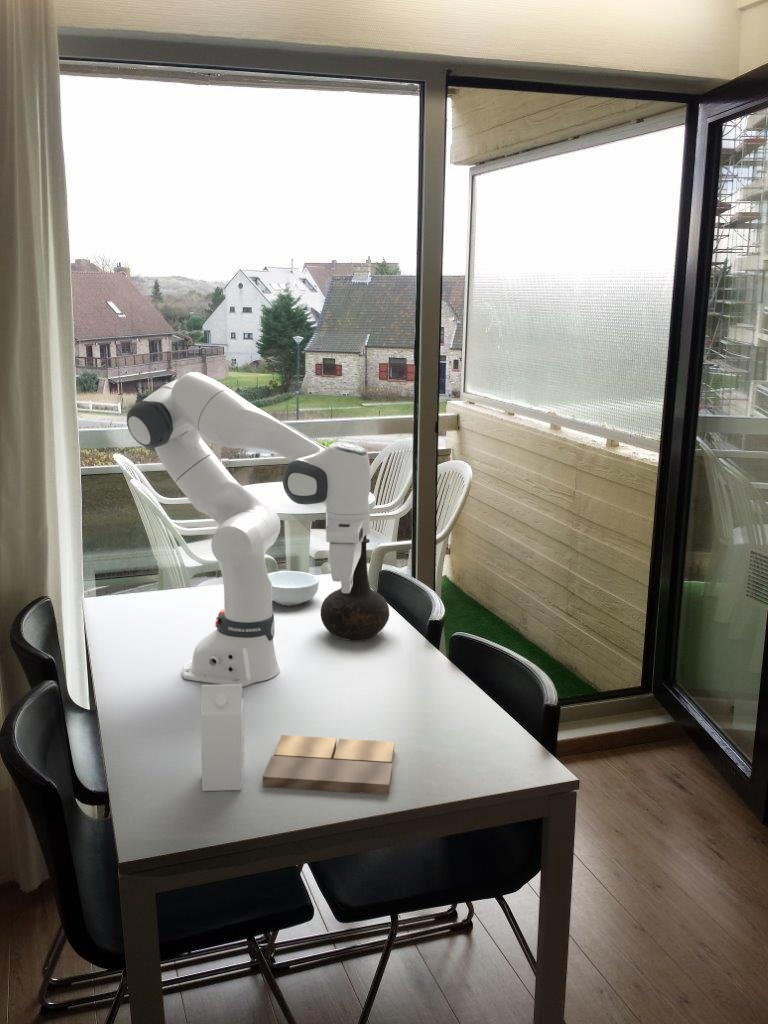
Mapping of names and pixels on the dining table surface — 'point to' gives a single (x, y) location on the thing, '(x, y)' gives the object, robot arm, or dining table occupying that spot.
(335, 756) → the plank
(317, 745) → the plank
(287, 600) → the cereal bowl
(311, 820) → the dining table surface
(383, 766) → the base board
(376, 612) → the dark brown round bottle
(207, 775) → the milk carton
